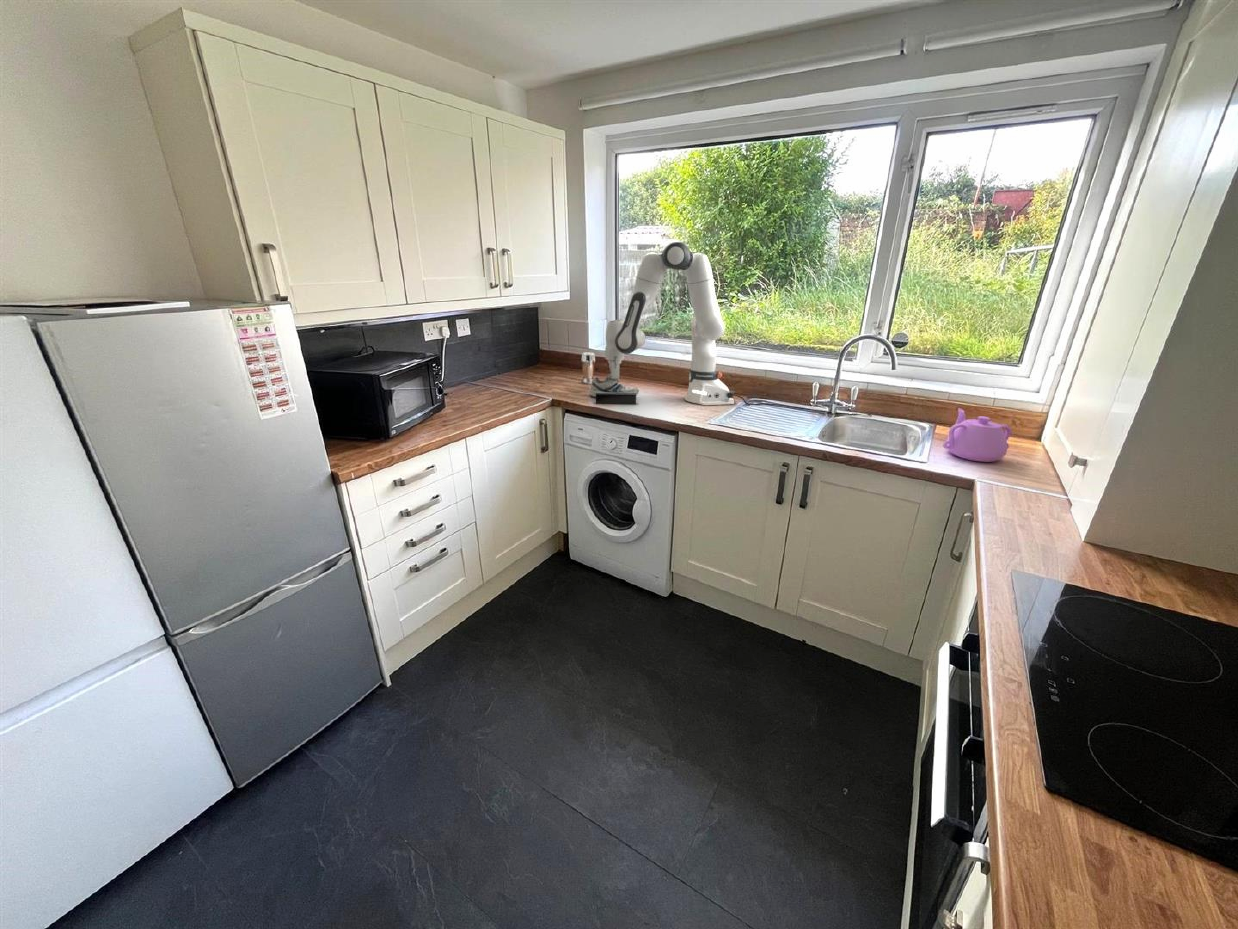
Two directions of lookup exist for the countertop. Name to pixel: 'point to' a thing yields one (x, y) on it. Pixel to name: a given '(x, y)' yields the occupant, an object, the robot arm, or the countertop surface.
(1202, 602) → the countertop surface
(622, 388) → the athletic shoe
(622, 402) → the shoe rack
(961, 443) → the teapot
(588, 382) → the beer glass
